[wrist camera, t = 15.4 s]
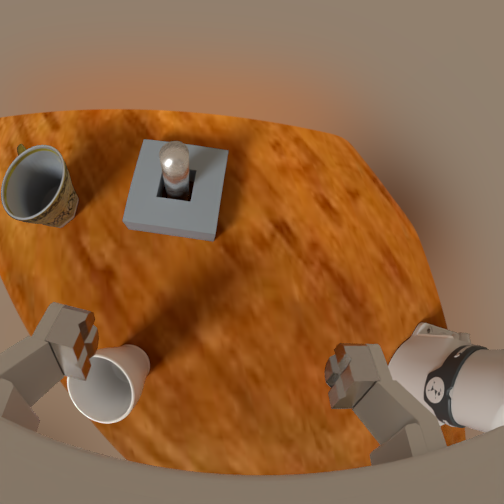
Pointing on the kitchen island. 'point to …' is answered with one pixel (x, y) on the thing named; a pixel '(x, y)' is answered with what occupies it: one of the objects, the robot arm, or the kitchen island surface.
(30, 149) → the ceramic cup
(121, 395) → the white tapered cylinder
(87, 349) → the robot arm
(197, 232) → the socket block
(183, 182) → the steel pin
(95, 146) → the kitchen island surface
